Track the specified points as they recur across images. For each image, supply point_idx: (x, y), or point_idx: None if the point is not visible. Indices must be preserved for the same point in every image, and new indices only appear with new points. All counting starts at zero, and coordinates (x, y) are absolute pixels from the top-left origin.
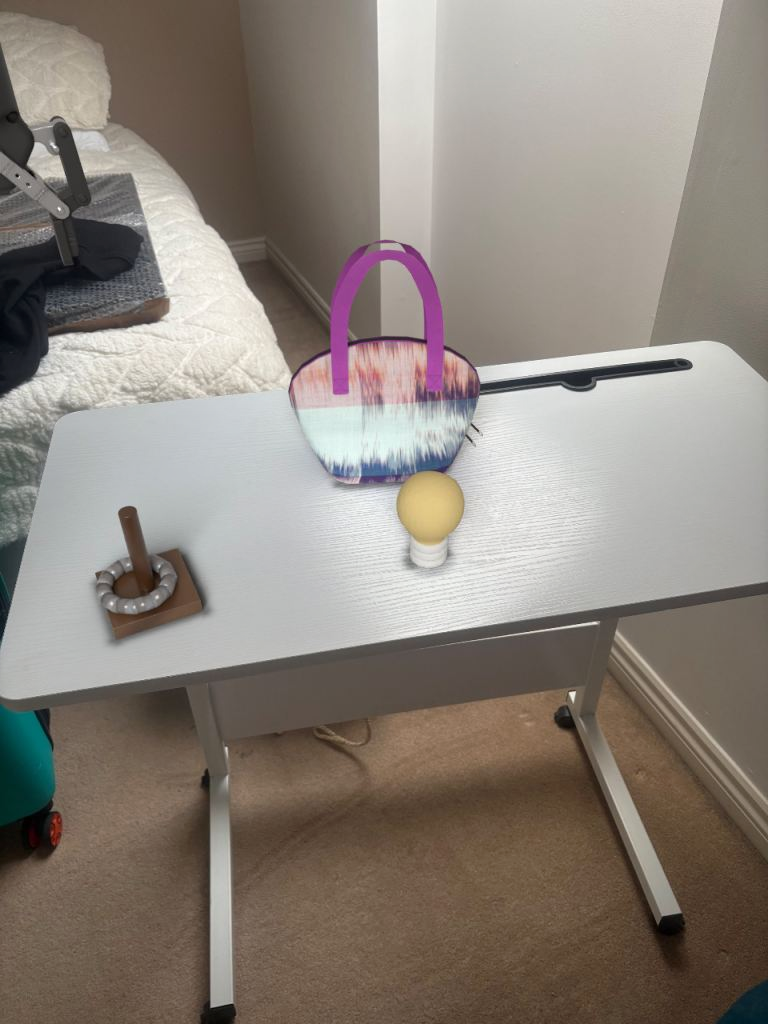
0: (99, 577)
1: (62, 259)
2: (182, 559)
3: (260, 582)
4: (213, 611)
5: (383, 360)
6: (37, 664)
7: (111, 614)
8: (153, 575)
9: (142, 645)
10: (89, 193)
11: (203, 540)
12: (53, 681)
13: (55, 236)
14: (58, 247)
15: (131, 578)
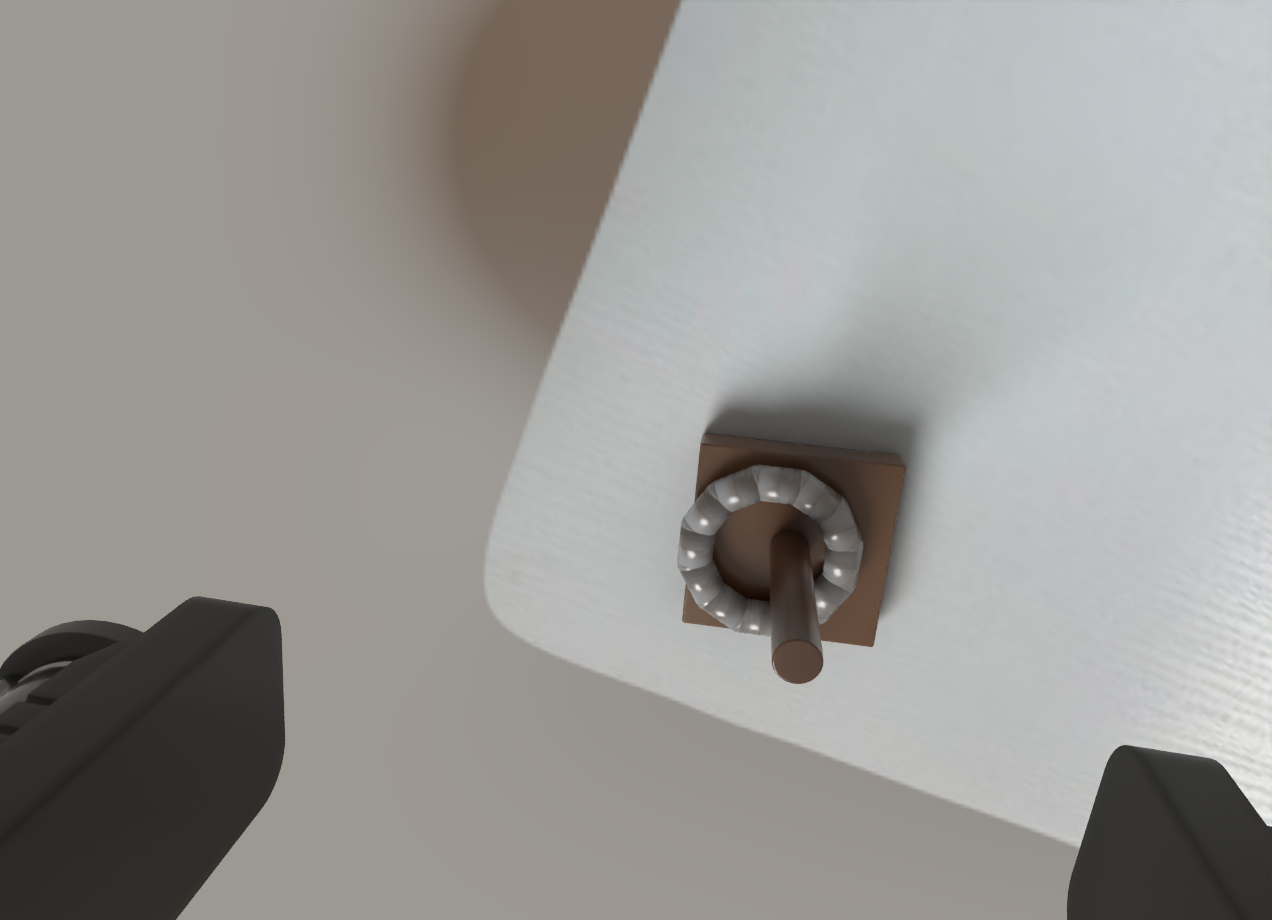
0: (699, 507)
1: (1095, 862)
2: (897, 511)
3: (1020, 621)
4: (888, 640)
5: None
6: (534, 580)
7: None
8: (815, 524)
9: (725, 644)
10: None
11: (982, 422)
12: (552, 634)
13: (1203, 891)
14: (1154, 803)
15: (768, 506)
